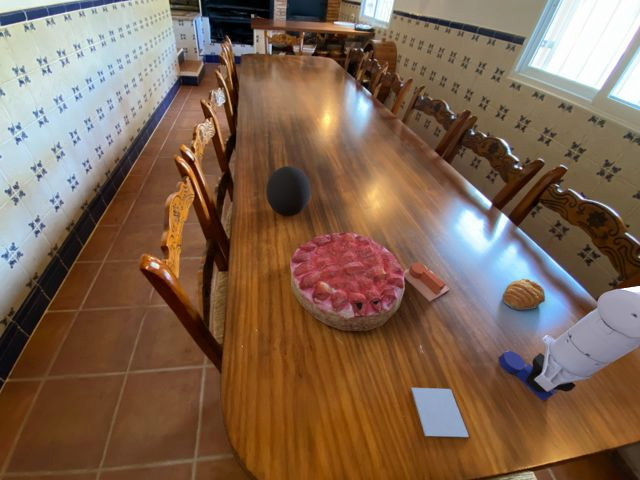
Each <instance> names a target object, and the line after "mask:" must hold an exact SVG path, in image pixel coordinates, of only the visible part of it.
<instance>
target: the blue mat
mask: <svg viewBox="0 0 640 480" xmlns="http://www.w3.org/2000/svg"><path fill="white" fill-rule="evenodd" d="M410 389H411V393H412V397H413V400H414V404H415V406H416V411H417V415H418V417H419V421H420V423H421V424H420V425H421V428H422V430H423V434H424V437H427V438H431V437H432V438H462V439H463V438H465V439H467V438H470V436H469V433H468V430H467V427H466V426H465V422H464V419H463V417H462V414H461V412H460V410H459V407H458V404H457V402H456V399H455V396H454V394H453V392H452V389H451V388H435V387H434V388H433V387H432V388H429V387H411V388H410Z"/></svg>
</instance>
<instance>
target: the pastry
mask: <svg viewBox="0 0 640 480" xmlns="http://www.w3.org/2000/svg"><path fill="white" fill-rule="evenodd" d="M502 301H503V302H504V303H505V304H506V305H507V306H509V307H510V308H512V309H513V310H516V311H518V310H519V311H522V310H531V309H535V308H537V307H538V306H539V305H541V304H543V303H545V302H546V295H545V290H544V288H543V287H542V286H541V285H540V284H539V283H538V282H536V281H532V280H530V279H529V278H521V279H518V280H514V281H512V282H510V283H509V284H508V285H507V286H506V288H505V291H503V294H502Z"/></svg>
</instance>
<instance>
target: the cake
mask: <svg viewBox="0 0 640 480" xmlns="http://www.w3.org/2000/svg"><path fill="white" fill-rule="evenodd" d="M289 265H290V286H291V290H292V292H293V294H294V297H295V298H296V299H297V300H298V302H299V303H300V305H301V307H303V308H304V309H305V310H306V311H307V312H308V313H309V314H311V316H313V317H314V318H315V319H317V320H318V321H319V322H321V323H322V324H325V325H327V326H330V327H332V328H335V329H338V330H341V331H350V332H351V331H352V332H353V331H354V332H363V331H364V332H365V331H370V330H373V329H376V328H378V327H381V326H383V325H384V324H385V323H386V322H387V321H388V320H389V319H390V318H391V317H392V316H393V315H394V314H395V313H396V312H397V311H398V310H399V308H400V306H401V304H402V303H401V302H402V299H403V296H404V293H405V290H406V288H405V287H406V286H405V278H404V271H405V270H404V268H403V267H402V265H401V264H400V263H399V261H398V260H397V258H396V257H395V255H394V253H393V252H392V251H389V250H388V249H386V247H384V246H383V245H381V244H379V243H377V242H376V241H374V240H373V239H372V238H371V237H370V236H366V235H365V236H364V235H359V234H356V233H353V232H342V233H339V232H335V231H334V232H332V233H330V234H319V235H317V236H314V237H313V238H312V239H310V240H309V241H308V242H307V243H304V244H300V245H299V246H298V247H297V248H296V250H295V252H294V254H293V256H292V257H291V259H290V260H289Z"/></svg>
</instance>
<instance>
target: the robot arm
mask: <svg viewBox="0 0 640 480" xmlns="http://www.w3.org/2000/svg"><path fill="white" fill-rule="evenodd" d="M596 302H597V303H596V308H595V309H594V310H591V311H590V312H589V313H587V315H585V316H583V317H582V318H581V319H579V321H577V322H576V323H574V325H572V326H570V328H568V329H567V330H566V331H565V332H563V333H562V334H560V335H559V336H558V337H557V338H553V337H552V336H550V335H548V334H546V335H545V336H543V337H542V338H541V339H540V340H539V341H540V343H541V344H542V345H543V346H544V347H545V350H544V354H543V353H542V352H539V353H538V354H537V355H536V356H534V357H533V359H532V361H531V363H532V366H533V368H532V371H531V372H530V374H529V375H528V377H527V379H526V383H527V384H529V385H530V386H531V387H532V388H533V389H534V390H535V391H536V392H541V391H547V392H548V391H550V390H558V391H562V392H565V393H566V392H571V391H573V390H574V389H575V387H576V386H577V385H576V384H575V383H576V382H581V381H586V380H589V379H590V378H592V377H593V376H594V375H595V374H596V373H598V372H599V371H601V370H602V369H604V368H606V367H607V366H609V365H611V364H613V363H615V361H617V360H619V359H620V358H623V357H625V356H626V355H627V354H629V353H631V352H632V351H634V350H636V349H638V348H639V347H640V286H639V285H638V286H632V287H623V288H616V289H612V290H608V291H606V292H604V293H601V295H600V296H599V297H598V299H597V301H596Z"/></svg>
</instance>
